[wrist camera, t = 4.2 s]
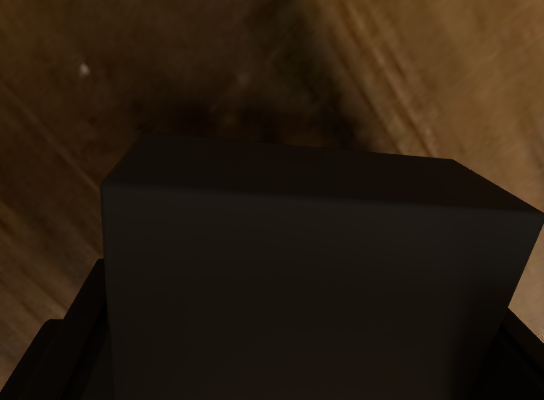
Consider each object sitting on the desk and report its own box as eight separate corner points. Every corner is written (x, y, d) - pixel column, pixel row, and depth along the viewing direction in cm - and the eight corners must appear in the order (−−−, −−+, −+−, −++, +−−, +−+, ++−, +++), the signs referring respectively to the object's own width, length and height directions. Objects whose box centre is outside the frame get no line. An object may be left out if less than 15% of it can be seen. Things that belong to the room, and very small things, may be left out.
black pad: (146, 489, 13) (123, 616, 10) (142, 130, 8) (97, 181, 5) (354, 483, 14) (385, 597, 11) (454, 158, 9) (550, 214, 6)
